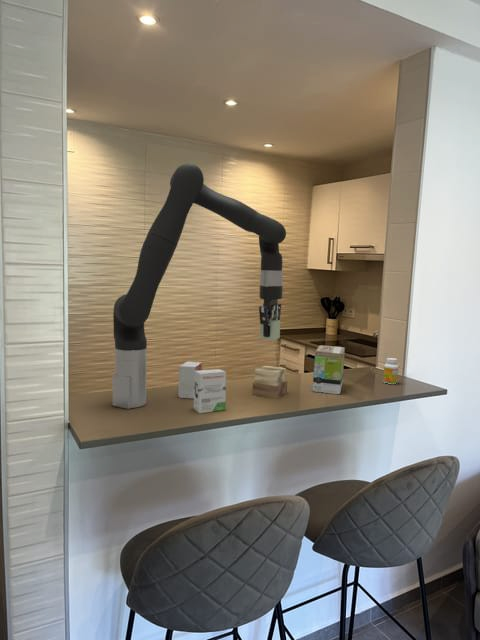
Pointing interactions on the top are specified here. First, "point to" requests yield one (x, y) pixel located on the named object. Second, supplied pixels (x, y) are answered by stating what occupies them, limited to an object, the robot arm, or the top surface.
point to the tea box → (328, 369)
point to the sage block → (272, 330)
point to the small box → (187, 378)
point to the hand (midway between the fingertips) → (269, 335)
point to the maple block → (270, 375)
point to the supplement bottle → (391, 371)
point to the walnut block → (269, 390)
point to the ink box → (209, 390)
